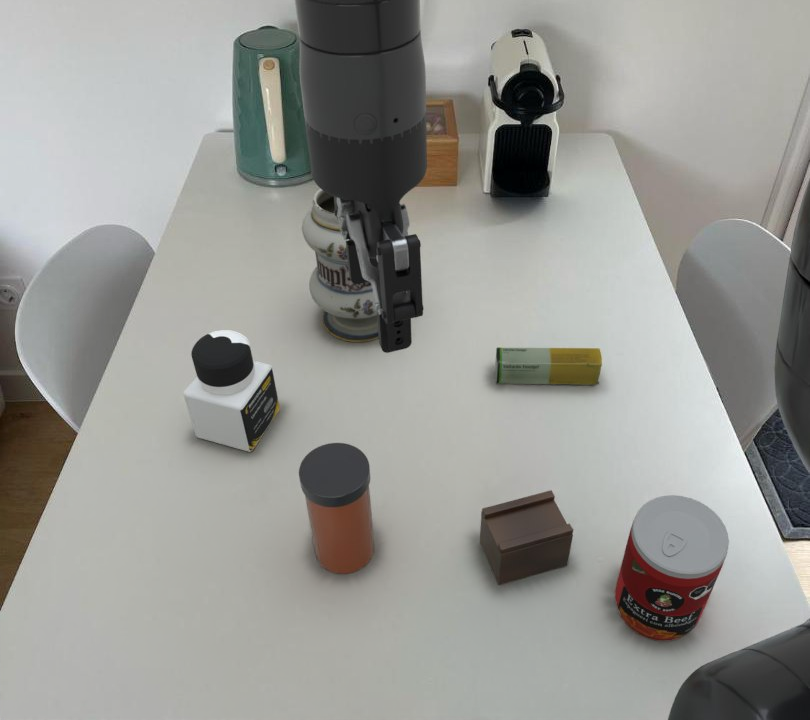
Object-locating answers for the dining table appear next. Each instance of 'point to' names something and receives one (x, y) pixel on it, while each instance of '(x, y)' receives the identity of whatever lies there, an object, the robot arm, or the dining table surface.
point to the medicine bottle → (230, 391)
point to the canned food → (670, 566)
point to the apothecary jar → (337, 277)
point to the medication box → (548, 365)
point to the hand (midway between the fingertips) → (379, 311)
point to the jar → (339, 506)
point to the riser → (525, 537)
